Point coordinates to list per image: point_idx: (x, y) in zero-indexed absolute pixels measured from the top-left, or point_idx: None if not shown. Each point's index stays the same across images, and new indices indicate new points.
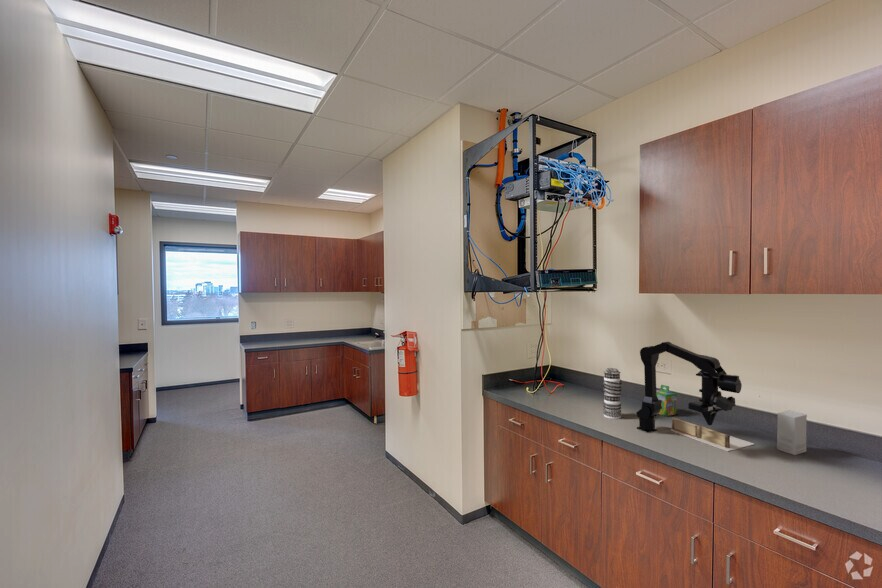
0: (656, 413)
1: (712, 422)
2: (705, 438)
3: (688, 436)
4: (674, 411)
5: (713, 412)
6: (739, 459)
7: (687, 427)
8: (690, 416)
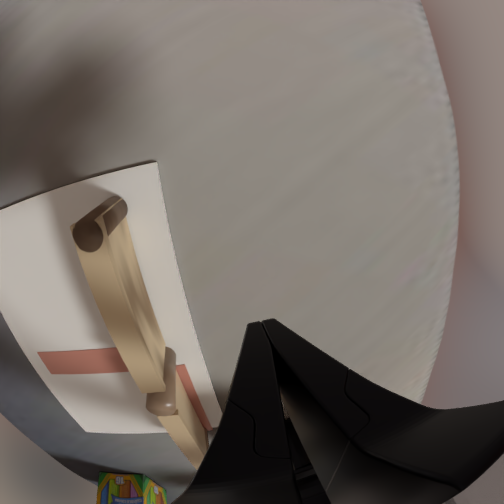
0: (316, 477)
1: (250, 342)
2: (158, 331)
3: (207, 374)
4: (107, 480)
5: (450, 441)
6: (206, 51)
7: (188, 419)
8: (67, 456)
